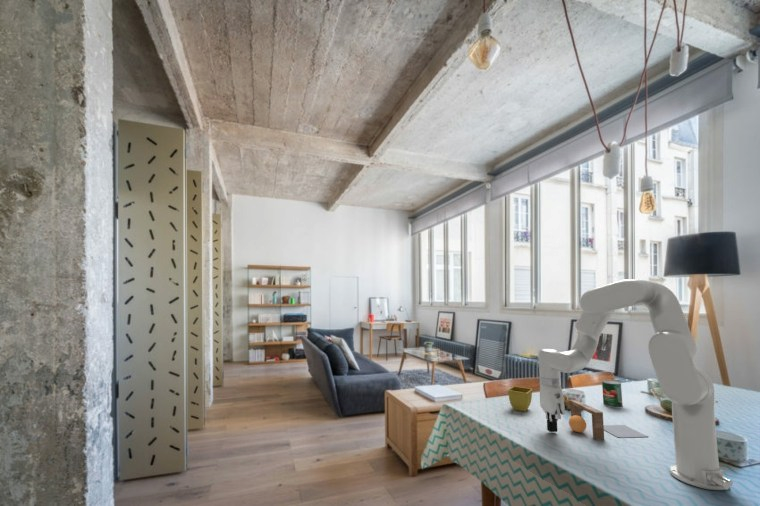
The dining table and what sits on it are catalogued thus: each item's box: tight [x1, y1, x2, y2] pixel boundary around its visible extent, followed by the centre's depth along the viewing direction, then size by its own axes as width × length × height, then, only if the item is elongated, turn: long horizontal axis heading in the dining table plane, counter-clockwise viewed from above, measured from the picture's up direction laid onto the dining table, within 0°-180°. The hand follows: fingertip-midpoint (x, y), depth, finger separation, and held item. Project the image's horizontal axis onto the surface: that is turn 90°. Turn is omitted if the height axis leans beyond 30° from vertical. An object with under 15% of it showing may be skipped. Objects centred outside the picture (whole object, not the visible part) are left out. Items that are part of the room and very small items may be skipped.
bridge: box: [570, 400, 605, 441], centre depth 139 cm, size 15×3×10 cm, turn 5°
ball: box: [568, 415, 587, 433], centre depth 139 cm, size 6×6×6 cm
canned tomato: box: [601, 379, 623, 408], centre depth 173 cm, size 8×8×11 cm
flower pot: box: [507, 385, 533, 412], centre depth 165 cm, size 9×9×9 cm
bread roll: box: [563, 394, 583, 411], centre depth 169 cm, size 10×10×8 cm
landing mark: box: [604, 424, 649, 439], centre depth 139 cm, size 12×12×1 cm
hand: (552, 431), depth 137 cm, fingers closed
